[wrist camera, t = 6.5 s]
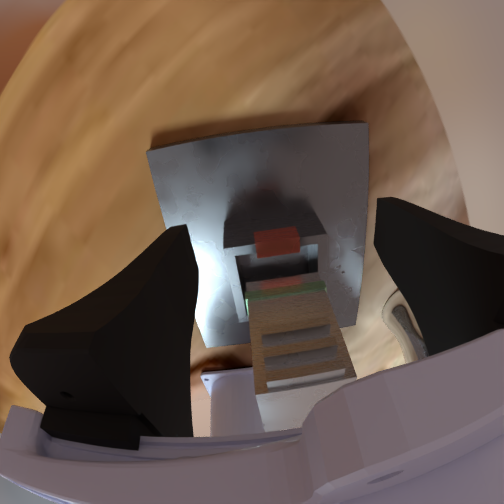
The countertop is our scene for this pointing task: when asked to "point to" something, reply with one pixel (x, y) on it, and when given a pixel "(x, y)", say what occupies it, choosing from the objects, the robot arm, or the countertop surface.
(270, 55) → the countertop surface
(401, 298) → the white tall cup
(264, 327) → the grooved grey block
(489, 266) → the robot arm
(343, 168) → the jack base
